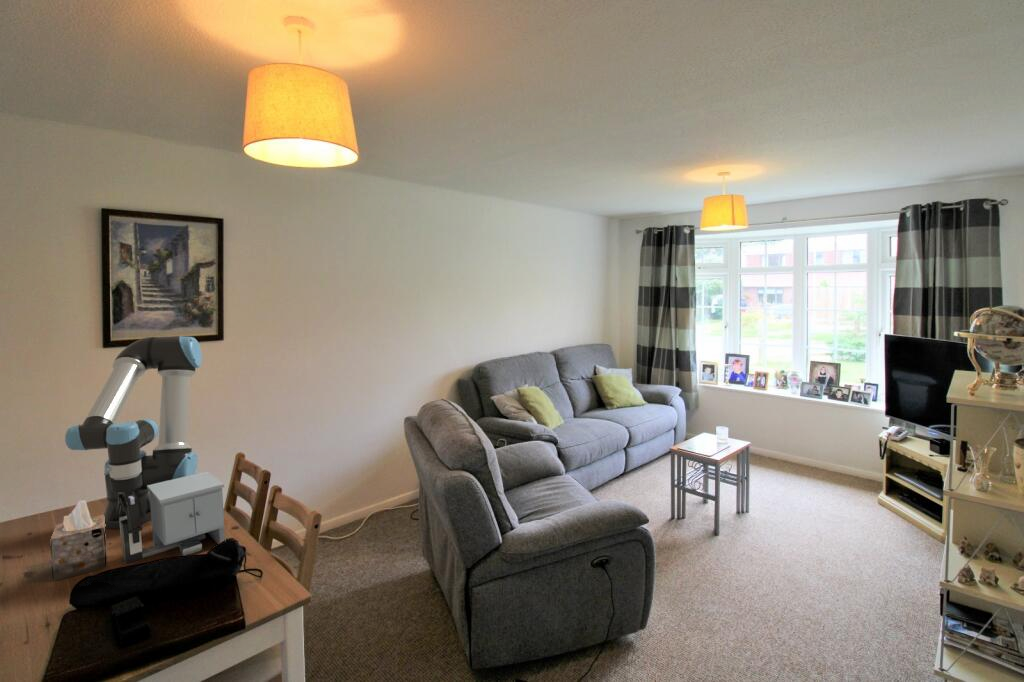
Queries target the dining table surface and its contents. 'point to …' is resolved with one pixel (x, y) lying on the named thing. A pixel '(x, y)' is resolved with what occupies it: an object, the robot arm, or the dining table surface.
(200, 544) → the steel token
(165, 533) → the sideboard cabinet
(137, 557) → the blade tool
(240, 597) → the dining table surface
